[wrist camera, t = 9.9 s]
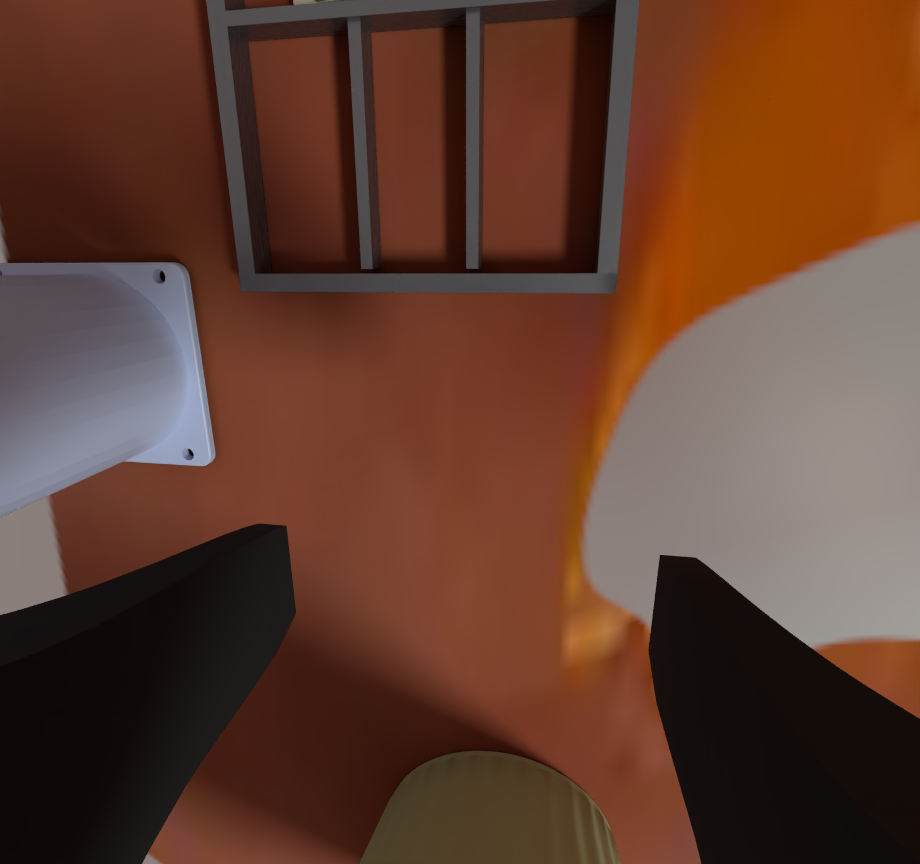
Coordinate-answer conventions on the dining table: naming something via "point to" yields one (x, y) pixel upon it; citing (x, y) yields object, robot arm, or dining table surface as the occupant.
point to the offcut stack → (313, 1)
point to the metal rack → (375, 10)
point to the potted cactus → (490, 816)
